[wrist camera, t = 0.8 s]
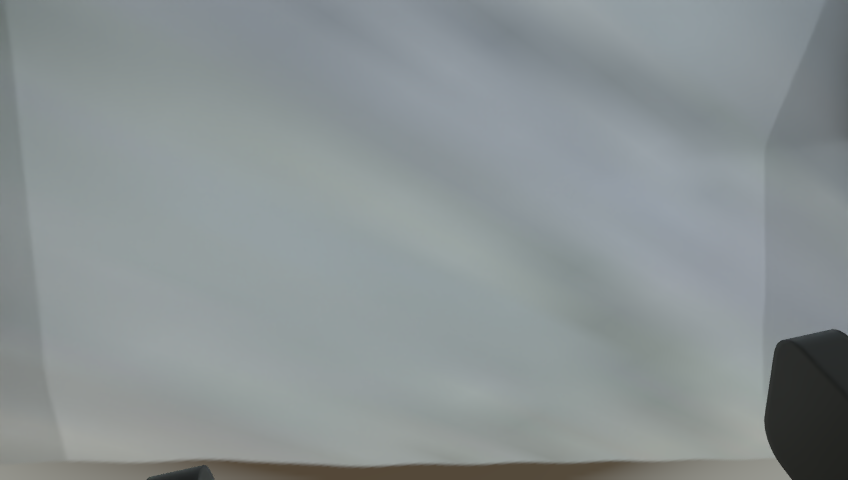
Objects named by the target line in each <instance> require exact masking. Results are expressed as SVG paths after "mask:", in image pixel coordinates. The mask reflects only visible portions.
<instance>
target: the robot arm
mask: <svg viewBox="0 0 848 480" xmlns="http://www.w3.org/2000/svg"><path fill="white" fill-rule="evenodd" d="M764 422H765V431H766V435H767V439H768V442H769V444H770V447H771V449H772V451H773V453H774V455H775V457H776V459H777V460H778V462H779V463H780V464H781V466H782V467H783V468H784V470H785V471H786V472H787V474H788V475H789V476H790V478H791V479H792V480H848V336H847V335H846V334H845V333H843V332H841V331H839V330H834V329H831V330H827V331H822V332H818V333H813V334H809V335H804V336H800V337H795V338H790V339H786V340H782V341H780V342H779V343H778V344H777V346H776V348H775V351H774V357H773V364H772V370H771V377H770V384H769V390H768V397H767V404H766V410H765V419H764ZM147 480H214V478H213V475H212V473H211V471H210V469H209V468H208V467H207V466H206V465H202V466H198V467H194V468H189V469H184V470H180V471H175V472H170V473H166V474H161V475H157V476H152V477H149V478H148V479H147Z"/></svg>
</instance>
